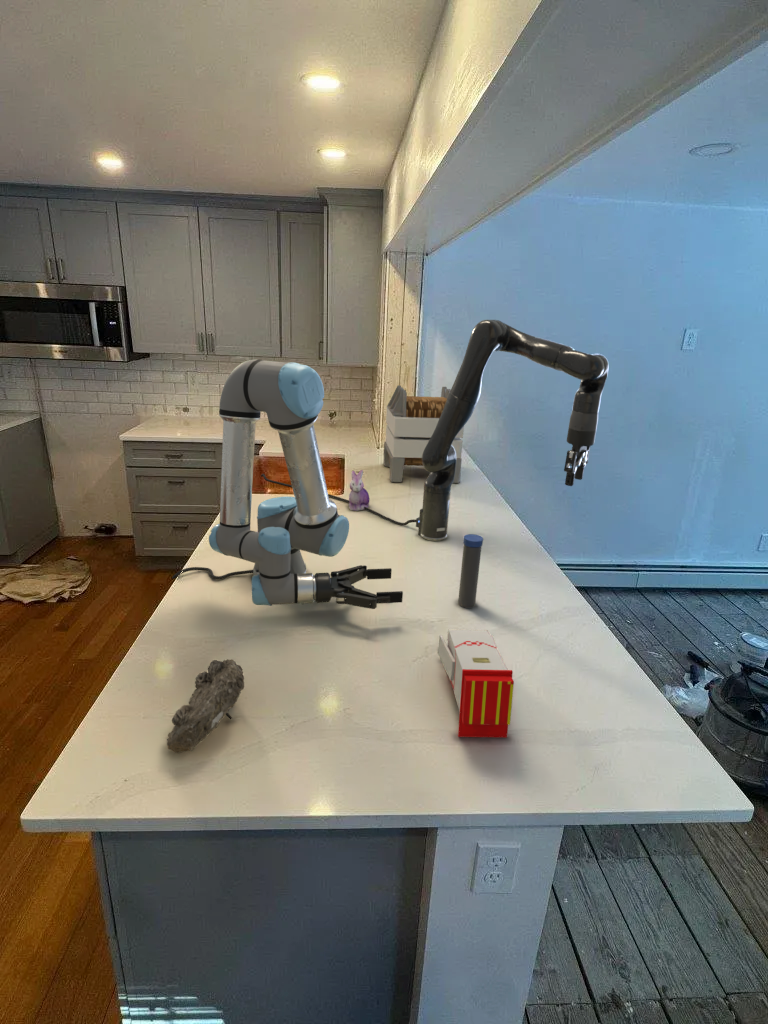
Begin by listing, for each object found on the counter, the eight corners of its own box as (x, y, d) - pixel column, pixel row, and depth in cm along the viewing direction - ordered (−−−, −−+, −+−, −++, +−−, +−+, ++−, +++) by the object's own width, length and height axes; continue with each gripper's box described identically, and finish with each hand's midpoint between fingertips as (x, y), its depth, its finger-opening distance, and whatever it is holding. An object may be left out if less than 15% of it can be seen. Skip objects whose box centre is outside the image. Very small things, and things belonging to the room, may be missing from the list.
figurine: (353, 512, 218) (354, 475, 213) (342, 504, 226) (343, 468, 221) (375, 509, 222) (376, 473, 217) (363, 501, 230) (364, 466, 225)
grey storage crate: (382, 463, 289) (386, 382, 275) (445, 464, 293) (451, 384, 279) (390, 482, 257) (394, 392, 243) (460, 483, 261) (468, 394, 247)
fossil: (192, 660, 117) (244, 628, 112) (224, 691, 120) (276, 661, 115) (142, 746, 98) (202, 712, 93) (182, 779, 101) (242, 748, 96)
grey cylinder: (454, 602, 154) (460, 538, 148) (465, 598, 157) (472, 534, 151) (467, 609, 151) (474, 544, 145) (478, 604, 154) (485, 540, 148)
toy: (488, 613, 130) (523, 677, 101) (484, 667, 133) (517, 744, 104) (435, 612, 130) (455, 676, 101) (432, 666, 133) (451, 743, 103)
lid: (459, 542, 148) (459, 536, 148) (471, 538, 152) (472, 532, 151) (473, 549, 145) (474, 542, 144) (486, 544, 148) (487, 538, 147)
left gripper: (310, 579, 156) (386, 576, 160) (318, 626, 133) (406, 621, 137) (310, 554, 153) (387, 552, 158) (318, 597, 130) (408, 593, 135)
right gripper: (577, 422, 167) (568, 474, 173) (561, 428, 156) (552, 484, 162) (603, 425, 163) (593, 479, 169) (588, 433, 152) (578, 490, 158)
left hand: (396, 584), depth 147 cm, fingers open, 13 cm apart
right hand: (573, 482), depth 165 cm, fingers open, 8 cm apart
